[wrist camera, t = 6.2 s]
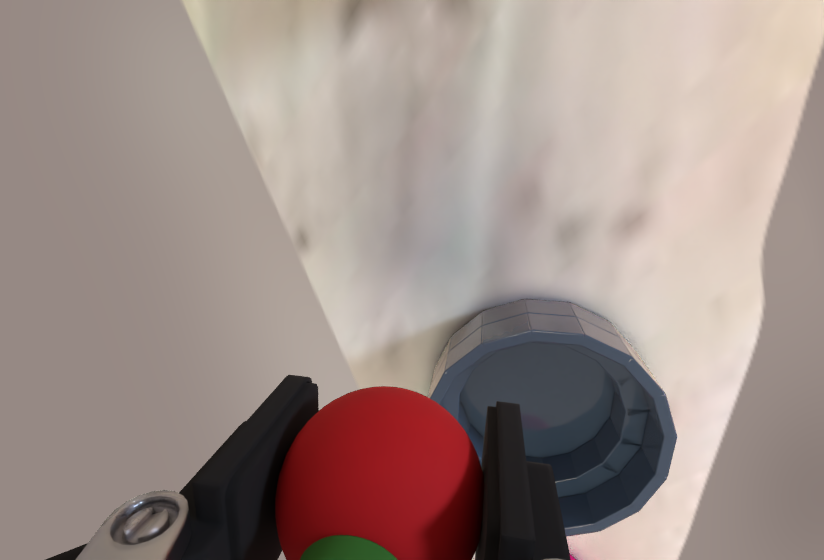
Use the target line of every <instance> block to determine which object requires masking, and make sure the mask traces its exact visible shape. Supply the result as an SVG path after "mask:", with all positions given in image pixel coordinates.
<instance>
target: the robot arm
mask: <svg viewBox="0 0 824 560" xmlns="http://www.w3.org/2000/svg"><path fill="white" fill-rule="evenodd" d="M317 412H318V386H317V384H314V383H312V381H311V378H309V377H302V376H295V375H288V376H287V377H286V378H285V379H284V380H283V381H282V382H281V383H280V384H279V385H278V387H277V388H276V389H275V390H274V391H273V392H272V393H271V394H270V395H269V397H268V398H267V399H266V400H265V401H264V402H263V403H262V404H261V406H260V407H259V408H258V409H257V410H256V411H255V412H254V414H253V415H252V416H251V417H250V418H249V419H248V420H247V421H245V422H243V423H242V424H241V425H240V426H239V427H238V428H237V429H236V430H235V432H234V433H233V434H232V435H231V436H230V437H229V438H228V439H227V440H226V441H225V443H224V444H223V445H222V446H221V447H220V448H219V449H218V450H217V451H216V453H215V454H214V455H213V456H212V457H211V458H210V459H209V460H208V461H207V462H206V464H205V465H204V466H203V467H202V468H201V469H200V470H199V471H198V472H197V474H196V475H195V476H194V477H193V478H192V479H191V480H190V481H189V483H188V484H187V485H186V486H185V487H184V488H183V489H182V490H181V491H180V493H177V492H175V491H167V490H163V491H154V492H149V493H146V494H143V495H139V496H137V497H135V498H133V499H131V500H129V501H127V502H126V503H124V504H123V505H121V506H120V507H119V508H117V509H116V510H114V512H113V513H112V514H111V515H110V516H109V517H108V518H107V519H106V520H105V521H104V523H103V524H102V525H101V527H100V528H99V529H98V531H97V532H96V533H95V535H94V536H93V537H92V539H91V540H90V541H89V543H87V544H85V545H82V546H80V547H77V548H74V549H72V550H69V551H67V552H64V553H61V554H59V555H56V556H54V557H51V558H48V559H46V560H277V559H278V558H279V556H280V554H281V552H282V548H281V544H280V541H279V537H278V531H277V526H276V518H275V497H276V490H277V484H278V479H279V474H280V471H281V468H282V465H283V462H284V459H285V457H286V454H287V452H288V450H289V448H290V447H291V445H292V443H293V441H294V439H295V438H296V436H297V434H298V433H299V432H300V431H301V429H302V428H303V427H304V426H305V424H306V423H307V422H308V421H309V420H310V419H311V418H312V417H313V416H314V415H315V414H316V413H317ZM481 468H482V471H483V475H484V493H483V510H482V523H481V533H480V541H479V544H478V546H477V549H476V554H475V560H571V559H570V554H569V549H568V544H567V539H566V534H565V529H564V524H563V519H562V514H561V509H560V504H559V499H558V494H557V489H556V484H555V478H554V473H553V469H552V466H551V465H550V464H544V463H537V462H530V461H526V455H525V446H524V438H523V429H522V421H521V413H520V405H519V404H516V403H508V402H500V401H497V402H496V407H493V406H488V407H487V415H486V424H485V434H484V443H483V453H482V462H481Z"/></svg>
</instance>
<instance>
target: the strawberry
mask: <svg viewBox="0 0 824 560" xmlns="http://www.w3.org/2000/svg"><path fill="white" fill-rule="evenodd" d="M483 493H484V475H483V471H482V468H481V464H480V461H479V457H478V455H477V452H476V450H475V448H474V446H473V444H472V442H471V440H470V438H469V436H468V435H467V433H466V432H465V430H464V429H463V427H462V426H461V425H460V424H459V422H458V421H457V420H456V419H455V418H454V417H453V416H452V415H451V414H450V413H449V412H448V411H447V410H446V409H445V408H443V407H442V406H441V405H439V404H438V403H437V402H435V401H433V400H432V399H430V398H428V397H426V396H424V395H422V394H419V393H417V392H414V391H411V390H407V389H403V388H397V387H386V386H382V387H371V388H365V389H360V390H357V391H353V392H350V393H348V394H346V395H343V396H341V397H340V398H337V399H335V400H333V401H332V402H330V403H329V404H328V405H326V406H324V407H323V408H322V409H321V410H319V411H318V412H317V413H316V414H315V415H314V416H313V417H312V418H311V419H310V420H309V421H308V422H307V423H306V424H305V426H304V427H303V428H302V429H301V431H300V432H299V433H298V434H297V436H296V438H295V439H294V441H293V443H292V445H291V447H290V448H289V450H288V452H287V454H286V457H285V459H284V462H283V465H282V468H281V471H280V474H279V479H278V484H277V490H276V497H275V518H276V526H277V531H278V537H279V541H280V544H281V548H282V550H283V552H284V555H285V557H286V560H472V558H473V556H474V554H475V551H476V549H477V546H478V544H479V541H480V533H481V523H482V510H483Z"/></svg>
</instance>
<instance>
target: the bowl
mask: <svg viewBox="0 0 824 560" xmlns="http://www.w3.org/2000/svg"><path fill="white" fill-rule="evenodd" d="M428 398H430V399H432V400H433V401H435V402H437V403H438V404H439V405H441V406H442V407H443V408H445V409H446V410H447V411H448V412H449V413H450V414H451V415H452V416H453V417H454V418H455V419H456V420H457V421H458V422H459V424H460V425H461V426H462V427H463V429H464V430H465V432H466V433H467V435H468V436H469V438H470V440H471V442H472V444H473V446H474V448H475V450H476V452H477V455H478V457H479V461H480V464H481V462H482V453H483V443H484V434H485V424H486V415H487V407H488V406H493V407H496V402H497V401H500V402H508V403H516V404H519V405H520V413H521V421H522V429H523V438H524V446H525V455H526V461H530V462H537V463H544V464H550V465H551V466H552V469H553V473H554V478H555V484H556V489H557V494H558V499H559V504H560V509H561V514H562V519H563V524H564V529H565V534H566V536H573V535H580V534H586V533H593V532H598V531H602V530H604V529H606V528H608V527H610V526H611V525H613V524H615V523H617V522H619V521H621V520H623V519H625V518H627V517H629V516H631V515H633V514H635V513H637V512H639V511H640V510H641V509H642V507H643V506H644V505H645V504H646V503H647V501H648V500H649V499H650V498H651V497H652V496H653V494H654V493H655V492H656V491H657V490H658V488H659V487H660V486H661V485H662V484H663V483H664V481H665V480H666V479H667V477H668V473H669V469H670V464H671V460H672V456H673V452H674V448H675V444H676V440H677V434H676V430H675V426H674V423H673V419H672V415H671V412H670V408H669V404H668V401H667V397H666V394H665V392H664V391H663V389H662V388H661V386H660V385H659V383H658V382H657V381H656V379H655V378H654V376H653V375H652V373H651V372H650V370H649V369H648V368H647V366H646V365H645V363H644V362H643V360H642V359H641V358H640V356H639V355H638V353H637V352H636V350H635V349H634V348H633V347H632V346H631V345H630V344H629V343H628V342H627V340H626V339H625V338H624V337H623V336H622V335H621V334H620V333H619V331H618V330H617V329H616V328H615V327H614V326H613V325H612V324H611V322H609V321H608V320H606V319H604V318H602V317H600V316H598V315H596V314H593V313H591V312H589V311H587V310H585V309H583V308H581V307H579V306H576V305H574V304H572V303H570V302H569V303H568V302H560V301H547V300H533V299H525V300H524V299H521V300H518V301H515V302H511V303H508V304H504V305H501V306H498V307H494V308H491V309H487V310H484V311H483V312H481V313H480V314H478V315H477V316H476V317H475V318H473V319H472V320H471V321H470V322H468V323H467V324H466V325H464V326H463V327H462V328H461V329H459V330H458V331H457V332H456V333H454V334H453V335H452V336H451V338H450V340H449V341H448V343H447V345H446V347H445V349H444V351H443V353H442V355H441V357H440V359H439V361H438V362H437V364H436V366H435V369H434V374H433V378H432V382H431V386H430V390H429V394H428Z"/></svg>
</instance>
